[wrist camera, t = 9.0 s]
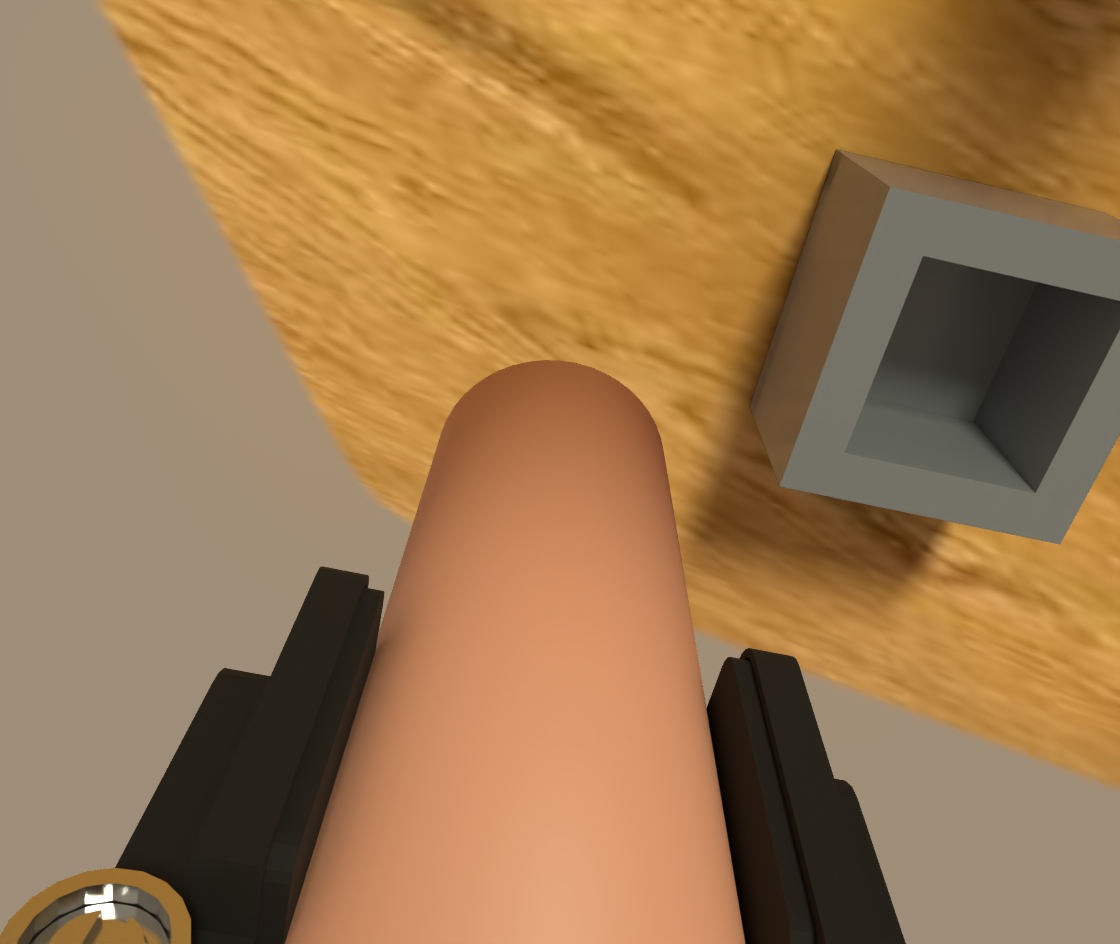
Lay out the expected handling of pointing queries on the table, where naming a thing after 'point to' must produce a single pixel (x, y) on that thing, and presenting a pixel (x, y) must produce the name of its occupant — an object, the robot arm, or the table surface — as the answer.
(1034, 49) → the table surface
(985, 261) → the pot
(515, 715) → the dowel
